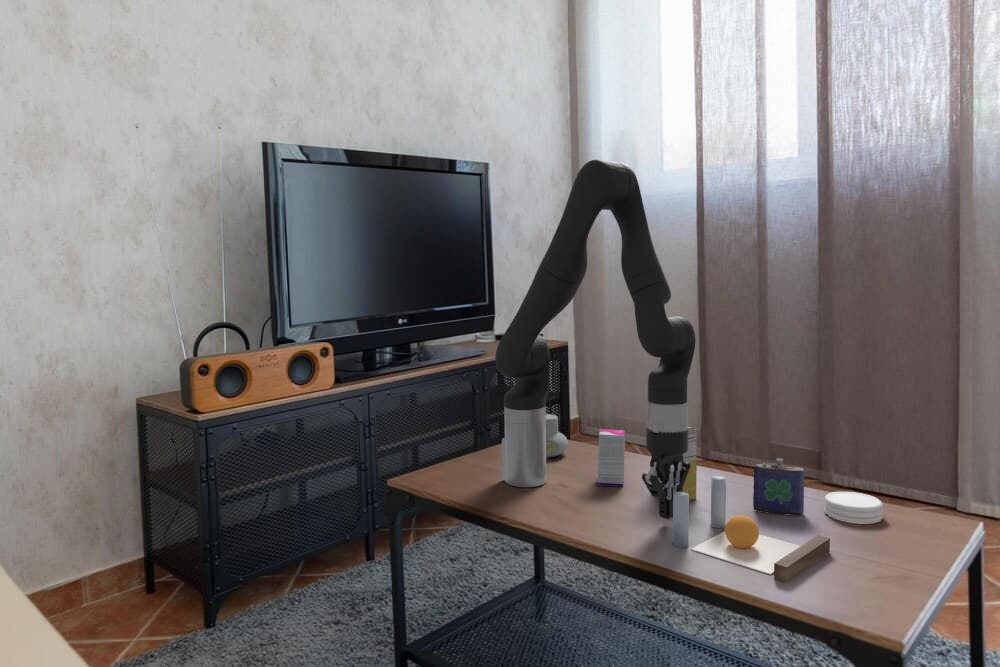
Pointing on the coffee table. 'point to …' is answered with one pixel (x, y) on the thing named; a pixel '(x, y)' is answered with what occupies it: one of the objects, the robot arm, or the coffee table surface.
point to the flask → (778, 488)
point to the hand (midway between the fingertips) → (666, 517)
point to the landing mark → (748, 552)
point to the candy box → (691, 463)
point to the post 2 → (718, 502)
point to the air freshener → (554, 437)
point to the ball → (742, 531)
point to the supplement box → (611, 457)
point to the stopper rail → (801, 558)
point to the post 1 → (680, 519)
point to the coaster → (853, 507)
